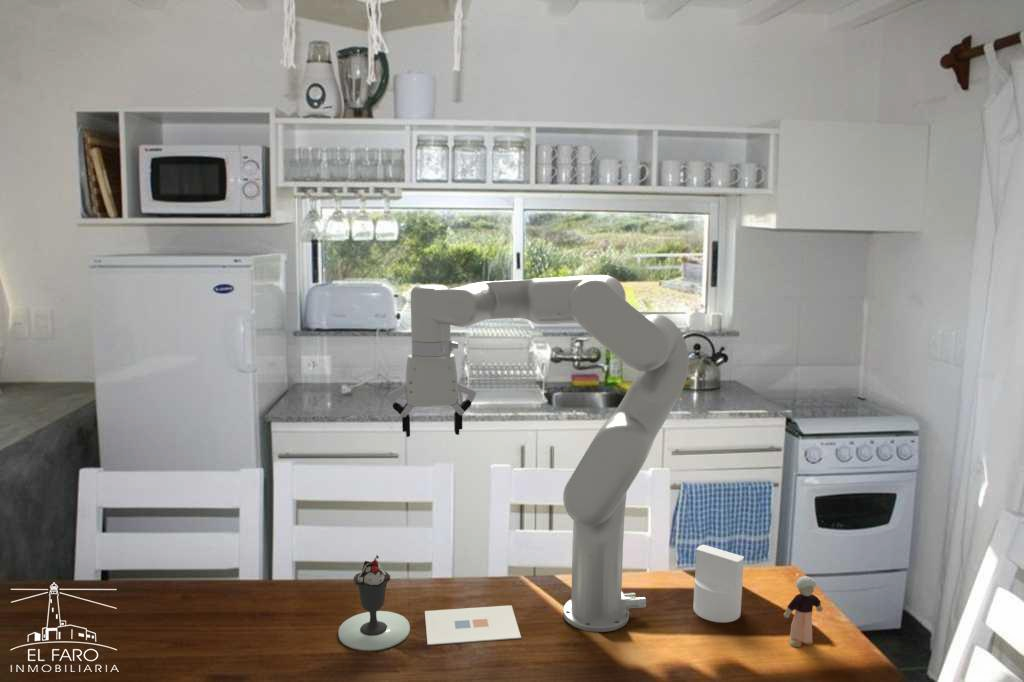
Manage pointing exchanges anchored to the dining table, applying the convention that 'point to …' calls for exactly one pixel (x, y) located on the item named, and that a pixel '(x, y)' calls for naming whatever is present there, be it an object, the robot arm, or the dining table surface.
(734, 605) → the cylinder with rectangular tab
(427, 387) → the robot arm
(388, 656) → the dining table surface
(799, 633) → the grandmother figurine
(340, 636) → the plate
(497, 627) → the tile
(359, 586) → the sundae
